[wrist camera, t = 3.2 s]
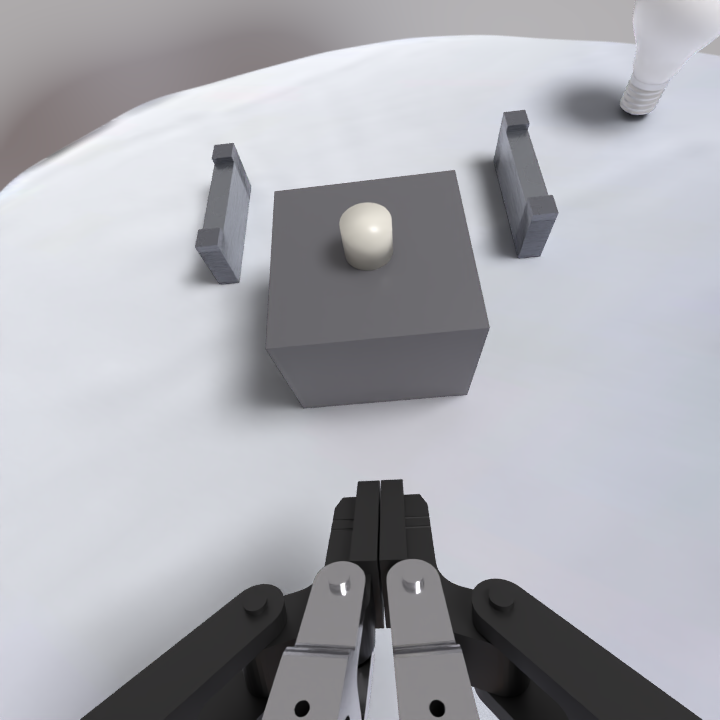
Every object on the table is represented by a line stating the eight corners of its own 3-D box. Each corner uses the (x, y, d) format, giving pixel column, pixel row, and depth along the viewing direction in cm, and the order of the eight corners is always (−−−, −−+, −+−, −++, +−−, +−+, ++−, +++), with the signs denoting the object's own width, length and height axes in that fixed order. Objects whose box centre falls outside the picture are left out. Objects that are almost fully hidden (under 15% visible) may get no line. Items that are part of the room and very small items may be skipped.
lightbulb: (687, 133, 33) (804, -50, 23) (602, 140, 34) (681, -36, 24) (663, 84, 36) (758, -98, 26) (584, 91, 37) (649, -84, 27)
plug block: (304, 408, 26) (251, 326, 17) (305, 279, 31) (263, 160, 22) (466, 395, 26) (498, 301, 17) (443, 265, 30) (458, 136, 21)
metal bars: (219, 284, 31) (195, 247, 28) (233, 187, 36) (214, 145, 32) (540, 256, 29) (558, 212, 26) (512, 158, 34) (525, 109, 30)
